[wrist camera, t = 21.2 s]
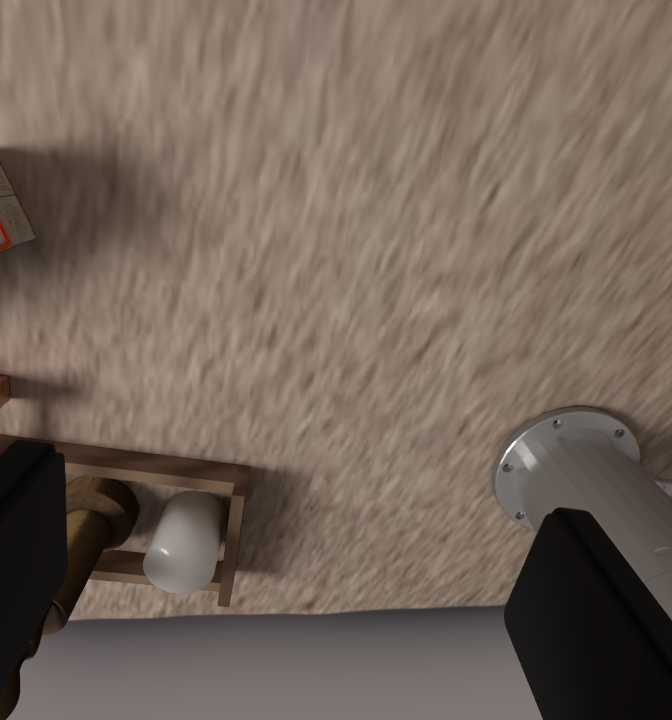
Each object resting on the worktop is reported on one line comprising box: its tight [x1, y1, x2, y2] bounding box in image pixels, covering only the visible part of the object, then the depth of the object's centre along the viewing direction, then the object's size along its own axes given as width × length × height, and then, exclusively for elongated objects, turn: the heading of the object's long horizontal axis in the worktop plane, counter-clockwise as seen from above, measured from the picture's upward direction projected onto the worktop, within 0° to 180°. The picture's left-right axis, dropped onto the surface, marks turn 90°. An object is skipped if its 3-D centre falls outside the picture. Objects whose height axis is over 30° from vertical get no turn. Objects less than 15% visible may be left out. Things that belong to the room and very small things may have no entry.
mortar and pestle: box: [0, 476, 139, 720], centre depth 35 cm, size 7×6×18 cm
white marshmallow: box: [143, 490, 227, 594], centre depth 42 cm, size 6×6×6 cm
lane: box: [0, 435, 250, 607], centre depth 41 cm, size 22×12×5 cm, turn 80°
